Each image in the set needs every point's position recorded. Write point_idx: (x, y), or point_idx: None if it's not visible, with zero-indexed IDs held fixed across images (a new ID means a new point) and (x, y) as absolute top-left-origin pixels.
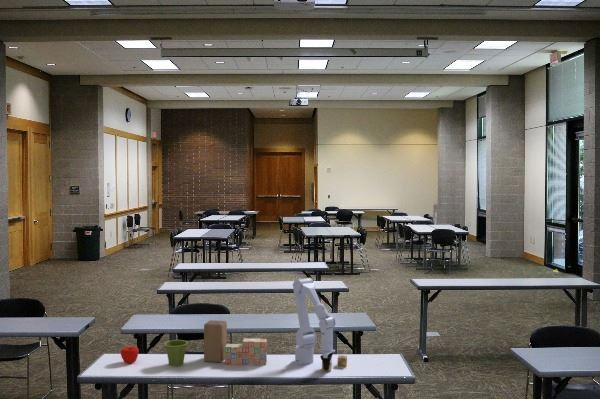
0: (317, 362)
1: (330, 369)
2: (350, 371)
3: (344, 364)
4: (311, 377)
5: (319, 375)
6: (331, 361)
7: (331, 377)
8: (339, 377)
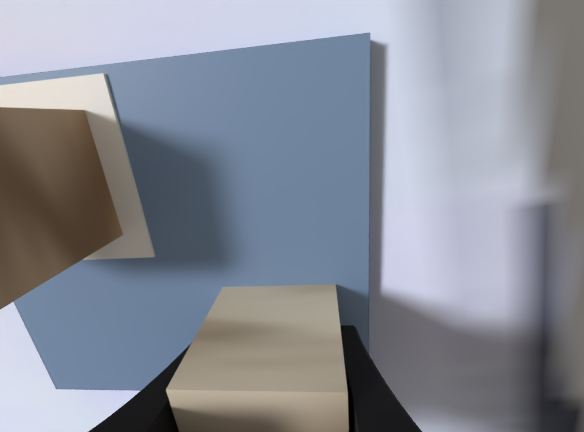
0: (64, 417)
1: (337, 305)
2: (200, 16)
3: (60, 143)
4: (522, 426)
5: (449, 370)
6: (248, 382)
7: (521, 245)
8: (520, 140)
